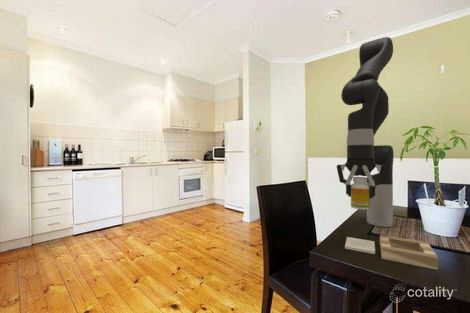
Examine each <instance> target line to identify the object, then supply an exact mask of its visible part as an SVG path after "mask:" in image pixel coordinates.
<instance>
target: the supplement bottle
mask: <svg viewBox="0 0 470 313" xmlns="http://www.w3.org/2000/svg"><path fill="white" fill-rule="evenodd" d="M352 182H353V183H351V184H350V185H351V197H350V207H351V208H353V209H356V210H367V209H370V186H369V185H368V184H367V176H353V178H352Z"/></svg>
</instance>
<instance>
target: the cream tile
mask: <svg viewBox="0 0 470 313" xmlns="http://www.w3.org/2000/svg"><path fill="white" fill-rule="evenodd" d="M344 249H345V250H349V251H350V250H352V251H357V252H361V253H367V254H372V255H376V244H375V241H373V240H369V239H362V238H356V237H349V236H346V239H345V245H344Z"/></svg>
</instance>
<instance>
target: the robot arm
mask: <svg viewBox="0 0 470 313" xmlns="http://www.w3.org/2000/svg"><path fill="white" fill-rule="evenodd" d="M358 51H359V56H358V57H359V66H360V67H359V69H358V70H357V71H356V73H355V76H353V77H352V78H351V79H350V80H349V81H347V82H346V84H345V85H344V86H343V88H342V90H341V96H340V98H341V101H342V102H343V103H344V104H345V105H348V106H356V105H361V106H362V107H361V108H360V109H357V110H355V111H352V112H350V113H349V114H348V116H347V135H346V162H345V163H342V164H337V165H336V170H337V175H338V180H339V182H340V183H342V184H344V185H345V195H346V196H348V197H350V198H351V185H352V184H351V182H352V181H353V177H366V178H367V184H368V185H369V186H370V209H366V223H367V224H369V225H372V226H376V227H384V228H385V227H386V228H388V227H389V228H390V227H391V228H392V227H393V225H394V220H393V219H394V216H393V215H394V207H393V206H394V198H393V197H394V194H393V193H394V188H393V186H394V184H393V182H394V181H393V180H394V179H393V176H394V174H393V172H394V171H393V170H394V169H393V168H394V167H393V166H394V157H395V156H394V148H393V146H391V145H388V144H387V145H383V144H380V145H375V135H376V133H377V131H378V130H379V129H380V127H381V126H382V125H383V123H384V122H385V120H386V119H387V117H388V115H389V111H390V110H389V105H390V104H389V96H388V94H387V92H386V91H385V90H384V88H383V87H382V86H381V85H380V84H379V83H380V82H378V80H379V78H380V74H381V72H382V71H383V70H384V69H385V67H386V66H387V65H388V64H389V62H391V59H392V58H393V54H394V44H393V40H392V38H391V37H389V36H385V37H380V38H377V39H373V40H370V41H366V42H364V43H362V44H361V45H360V47H359V50H358ZM345 168H346V169H347V170H348V171H349V172H350V173H349V175H348V177H347V179H345V177H344V173H343V171H345ZM375 168H376V171H377V172H378V173H374V174H371V173H372V171H374V169H375Z"/></svg>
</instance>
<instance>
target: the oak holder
mask: <svg viewBox="0 0 470 313" xmlns="http://www.w3.org/2000/svg"><path fill="white" fill-rule="evenodd" d="M379 248H380V254H381V259H382V260H385V261H392V262H396V263H402V264H406V265H412V266H416V267H422V268H427V269H432V270H437V271H439V257H438V255H437V254H436V252H435V251H434V250H433V248H432V247H431V245H430V244H429V243H428V242H427V241H422V240H414V239H408V238H402V237H395V236H388V235H383V234H382V235H379Z"/></svg>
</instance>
